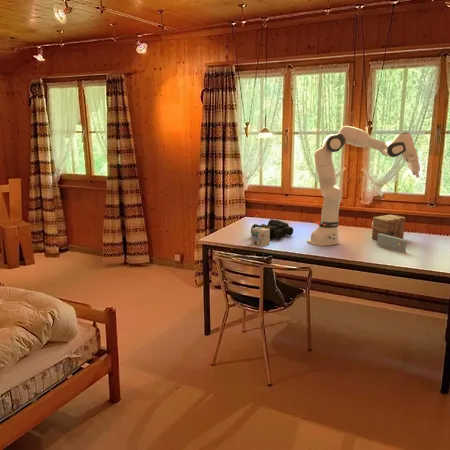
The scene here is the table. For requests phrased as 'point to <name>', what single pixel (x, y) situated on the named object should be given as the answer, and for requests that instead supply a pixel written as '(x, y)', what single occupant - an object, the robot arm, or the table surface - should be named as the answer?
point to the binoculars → (276, 229)
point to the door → (391, 242)
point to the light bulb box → (260, 236)
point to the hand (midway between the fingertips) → (416, 176)
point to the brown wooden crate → (388, 226)
